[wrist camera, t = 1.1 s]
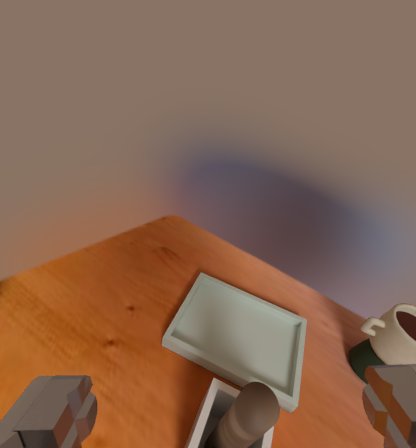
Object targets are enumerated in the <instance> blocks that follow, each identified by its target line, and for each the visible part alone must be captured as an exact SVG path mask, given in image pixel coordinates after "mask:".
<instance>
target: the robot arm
mask: <svg viewBox="0 0 416 448" xmlns="http://www.w3.org/2000/svg"><path fill="white" fill-rule="evenodd" d="M365 378H366V380H367V381H368V384H367V385H366V386H365V387H364V388H363V395H362V399H363V404H364V409H365V412H366V414H367V417H368V419H369V421H370V423H371V425H372V426H373V428H374V429H375V430H376V431H378V432H379V433H380V434H381V435H383V436H384V448H416V364H405V365H403V364H399V365H377V366H368V367H367V368H366V370H365ZM92 385H93V384H92V381H91V377H90V376H86V375H79V376H38V377H37V378H35V379H34V380H33V381H32V382H31V383H30V385H29V386H28V387H27V388H26V390H25V391H24V392H23V393H22V395H21V396H20V397H19V399H18V400H17V401H16V402H15V404H14V405H13V406H12V407H11V409H10V410H9V411H8V413H7V414H6V415H5V416H4V418H3V419H2V420H1V421H0V448H82V446H81V442H82V441H84V440H85V439H86V438H87V437H88V436H89V435H90V433H91V431H92V429H93V426H94V424H95V420H96V415H97V400H96V396H95V395H94V394H92V393H91V392H90V389H91V387H92Z"/></svg>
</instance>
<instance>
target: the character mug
mask: <svg viewBox="0 0 416 448" xmlns="http://www.w3.org/2000/svg"><path fill="white" fill-rule="evenodd" d="M360 330H361V331H362V332H364V333H366V334H368V335H370V337H369V338H368V339H366V340H365V341H363V342H361V343H359V344H358V345H356V346H355V347H353V348H352V349H351V350H350V351H349V358H350V362H351V365H352V367H353V369H354V370H355V372H356V374H357V375H358V376H359V377H360V378H361V379H362V380H363V381H364V382H365V383H366V384H368V381H367V380H366V378H365V370H366V368H367V367H368V366H377V365H399V364H403V365H405V364H416V306H413V305H411V304H405V303H401V304H397V305H395V306H394V307H393V308H392V309H391V310H389V311H388V312H386V313H385V314H383V315H382V316H381V317H380V318H379V319H378V318H375V317H370V318H368V319H367V320H366V321H365V322H364V323H363V324H362V325H361V327H360Z"/></svg>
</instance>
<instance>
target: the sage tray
mask: <svg viewBox="0 0 416 448" xmlns="http://www.w3.org/2000/svg"><path fill="white" fill-rule="evenodd" d="M306 325H307V319H305V318H302V317H300V316H298V315H296V314H293V313H291V312H289V311H287V310H284V309H282V308H280V307H278V306H276V305H273V304H271V303H269V302H267V301H264V300H262V299H260V298H258V297H255V296H253V295H251V294H249V293H246V292H244V291H242V290H240V289H238V288H235V287H233V286H231V285H229V284H226V283H224V282H222V281H220V280H217V279H215V278H213V277H211V276H208V275H206V274H204V273H202V272H201V273H200V275H199V276H198V278H197V280H196V281H195V283H194V285H193V287H192V288H191V290H190V292H189V293H188V295H187V297H186V299H185V300H184V302H183V304H182V305H181V307H180V309H179V310H178V312H177V314H176V316H175V317H174V319H173V321H172V322H171V324H170V326H169V328H168V329H167V331H166V333H165V334H164V336H163V339H162V346H163V347H165V348H167V349H169V350H171V351H173V352H175V353H177V354H179V355H181V356H182V357H184V358H186V359H188V360H190V361H192V362H194V363H196V364H198V365H200V366H202V367H204V368H205V369H207V370H209V371H211V372H213V373H215V374H217V375H219V376H221V377H223V378H225V379H226V380H228V381H230V382H232V383H234V384H236V385H238V386H240V387H242V388H244V386H245V385H247V384H248V383H250V382H261V383H264V384H265V385H267V386H268V387H269V388H270V389H271V390H272V391H273V392H274V394H275V395H276V397H277V399H278V402H279V407H280V408H282V409H284V410H286V411H288V412H290V413H291V412H292V411H294V410H295V409H296V408H297V407H298V401H299V391H300V382H301V372H302V363H303V353H304V344H305V334H306Z"/></svg>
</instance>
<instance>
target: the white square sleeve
mask: <svg viewBox="0 0 416 448" xmlns="http://www.w3.org/2000/svg"><path fill="white" fill-rule="evenodd" d="M240 392H241V391H239V390H237V389H235V388H233V387H231V386H229V385H227V384H226V383H224V382H222V381H220V380H218V379H216V378H213V380H212V382H211V384H210V386H209V388H208V390H207V392H206V394H205V396H204V398H203V400H202V402H201V404H200V407H199V410H198V412H197V415H196V418H195V420H194V423H193V426H192V428H191V431H190V434H189V436H188V439H187V442H186V444H185V447H184V448H204V445H205V442H206V440H207V438H208V437H209V435H210V434H211V432H212V431H213V430H214V428H215V427H216V425H217V424H218V423H219V421H220V420H221V418H222V417H223V416H224V414H225V413H226V411H227V410H228V409H229V407H230V406H231V404H232V403H233V402H234V400H235V399H236V397H237V396H238V395H239V393H240ZM273 430H274V426H273V427H272V428H271V429H269V430H268V431H267V432H266V433H265V434H263V435H262V436H261V437H260V438H259V439H257V440H256V441H255V442H254V443H253V444H251V445H250V446H249V447H248V448H271V442H272V436H273Z"/></svg>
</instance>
